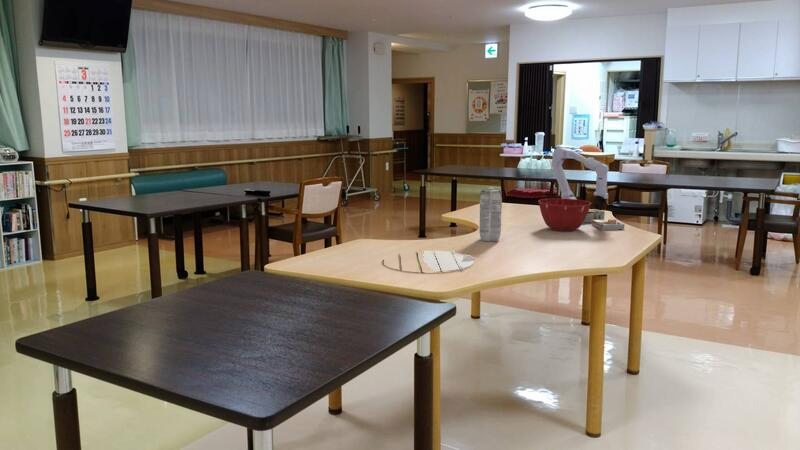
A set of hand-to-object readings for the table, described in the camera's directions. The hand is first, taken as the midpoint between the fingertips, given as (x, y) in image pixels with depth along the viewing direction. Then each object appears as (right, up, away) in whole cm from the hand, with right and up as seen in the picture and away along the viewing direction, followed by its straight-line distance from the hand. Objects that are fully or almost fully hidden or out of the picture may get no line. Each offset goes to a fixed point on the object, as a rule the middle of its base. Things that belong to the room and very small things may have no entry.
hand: (600, 209), depth 352 cm
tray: (+3, -11, -6) cm, 12 cm away
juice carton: (-68, -17, -37) cm, 79 cm away
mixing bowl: (-23, -11, -7) cm, 26 cm away
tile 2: (+5, -7, -3) cm, 10 cm away
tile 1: (+1, -8, -7) cm, 11 cm away
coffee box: (+6, -3, +20) cm, 21 cm away
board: (+3, -9, +2) cm, 10 cm away
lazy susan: (-100, -25, -83) cm, 133 cm away
